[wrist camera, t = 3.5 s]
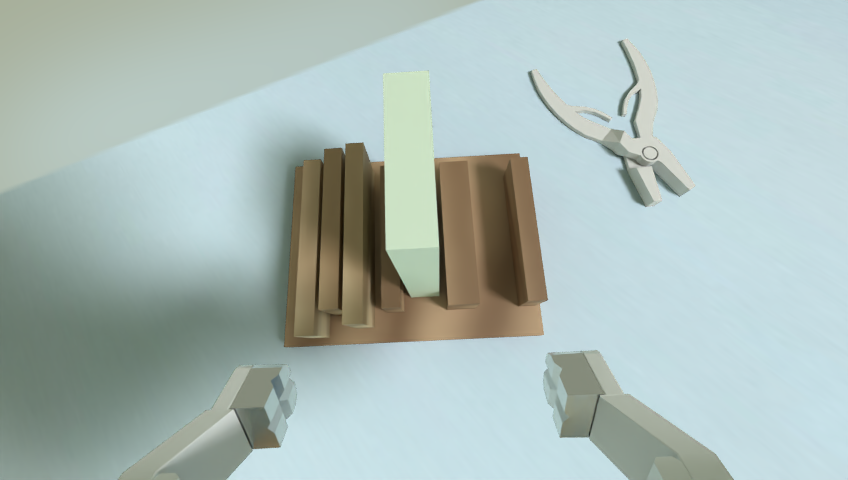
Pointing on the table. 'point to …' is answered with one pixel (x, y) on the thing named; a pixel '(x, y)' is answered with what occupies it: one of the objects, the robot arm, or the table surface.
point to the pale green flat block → (410, 182)
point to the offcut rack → (376, 274)
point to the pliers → (633, 150)
